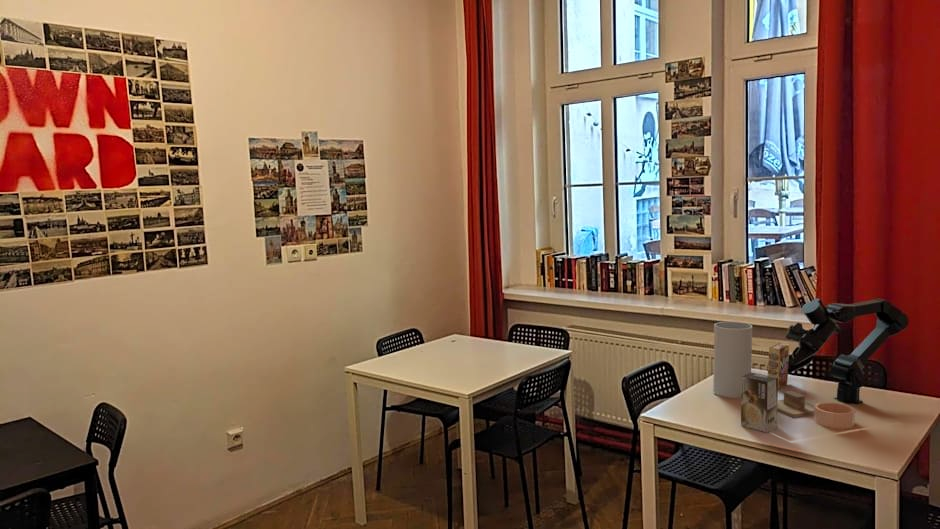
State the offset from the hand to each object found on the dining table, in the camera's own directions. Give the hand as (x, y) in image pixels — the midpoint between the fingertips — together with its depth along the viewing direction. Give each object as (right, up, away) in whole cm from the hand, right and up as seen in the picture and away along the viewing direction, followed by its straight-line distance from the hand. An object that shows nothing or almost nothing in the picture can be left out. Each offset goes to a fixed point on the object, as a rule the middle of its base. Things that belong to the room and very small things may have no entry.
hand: (790, 368), depth 231 cm
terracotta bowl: (+9, -16, -11) cm, 21 cm away
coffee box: (-15, -17, -12) cm, 25 cm away
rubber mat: (+2, -14, +2) cm, 15 cm away
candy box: (+8, -11, +28) cm, 32 cm away
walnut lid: (+2, -14, +2) cm, 14 cm away
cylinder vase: (-11, -13, +21) cm, 27 cm away
